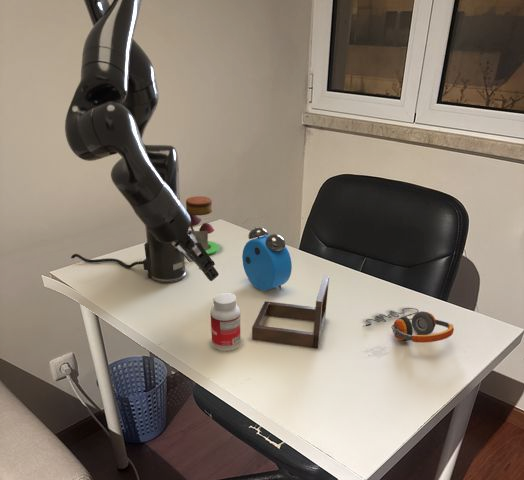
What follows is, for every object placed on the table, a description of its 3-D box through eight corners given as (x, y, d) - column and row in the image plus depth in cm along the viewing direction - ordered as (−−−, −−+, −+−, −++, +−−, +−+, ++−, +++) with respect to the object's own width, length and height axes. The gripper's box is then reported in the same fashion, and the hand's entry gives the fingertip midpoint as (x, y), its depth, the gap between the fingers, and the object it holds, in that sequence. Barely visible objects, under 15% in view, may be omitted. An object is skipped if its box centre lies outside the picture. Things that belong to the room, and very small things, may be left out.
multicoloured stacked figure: (191, 239, 159) (188, 191, 150) (227, 245, 155) (225, 197, 146) (171, 252, 149) (166, 202, 141) (208, 259, 145) (206, 208, 137)
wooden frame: (252, 339, 109) (252, 293, 103) (264, 313, 119) (265, 269, 113) (317, 348, 107) (322, 301, 100) (325, 320, 117) (329, 276, 111)
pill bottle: (211, 336, 110) (209, 291, 104) (239, 335, 111) (239, 290, 104) (212, 352, 105) (209, 305, 99) (241, 351, 105) (240, 304, 99)
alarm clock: (291, 292, 129) (294, 236, 120) (273, 299, 125) (274, 241, 117) (259, 275, 137) (259, 221, 129) (241, 281, 134) (240, 226, 125)
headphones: (408, 295, 122) (474, 314, 105) (407, 316, 124) (473, 338, 107) (351, 311, 115) (412, 333, 98) (352, 332, 117) (412, 358, 100)
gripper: (128, 209, 93) (173, 265, 105) (162, 240, 84) (207, 297, 96) (158, 182, 93) (200, 241, 106) (195, 210, 84) (236, 271, 97)
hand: (203, 268), depth 101 cm, fingers open, 8 cm apart
